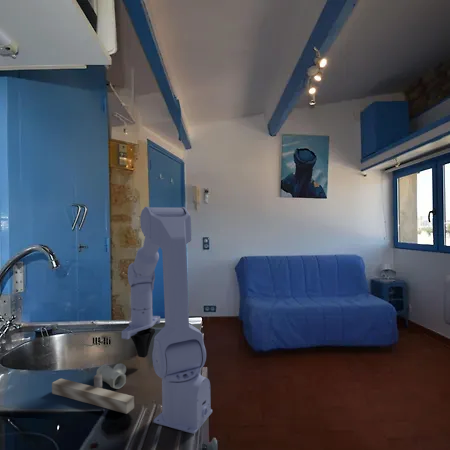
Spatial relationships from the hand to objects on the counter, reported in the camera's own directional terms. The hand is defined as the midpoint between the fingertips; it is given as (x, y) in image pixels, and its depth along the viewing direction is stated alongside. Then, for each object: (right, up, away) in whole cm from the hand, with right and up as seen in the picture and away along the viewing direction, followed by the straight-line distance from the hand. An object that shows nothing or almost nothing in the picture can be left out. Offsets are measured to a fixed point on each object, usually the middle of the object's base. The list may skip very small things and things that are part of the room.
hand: (142, 356), depth 92 cm
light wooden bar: (-7, -3, -16) cm, 18 cm away
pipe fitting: (-5, -3, -8) cm, 10 cm away
